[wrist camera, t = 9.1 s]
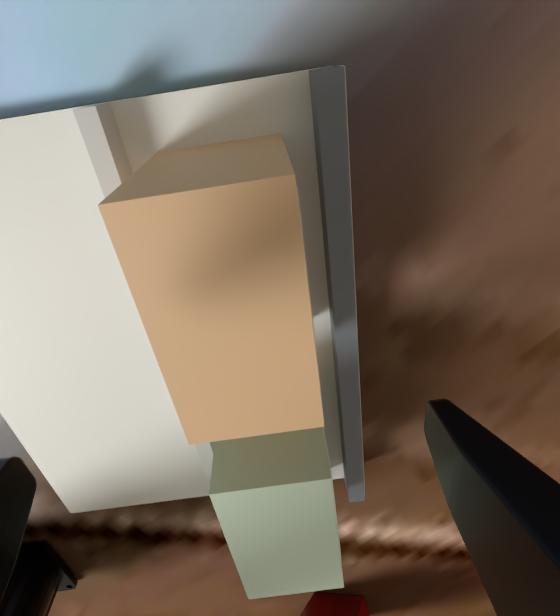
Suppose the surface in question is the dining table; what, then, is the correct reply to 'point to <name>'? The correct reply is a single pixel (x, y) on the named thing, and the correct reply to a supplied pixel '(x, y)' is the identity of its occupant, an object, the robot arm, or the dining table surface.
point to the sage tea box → (278, 511)
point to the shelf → (117, 296)
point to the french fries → (335, 605)
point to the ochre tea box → (222, 285)
